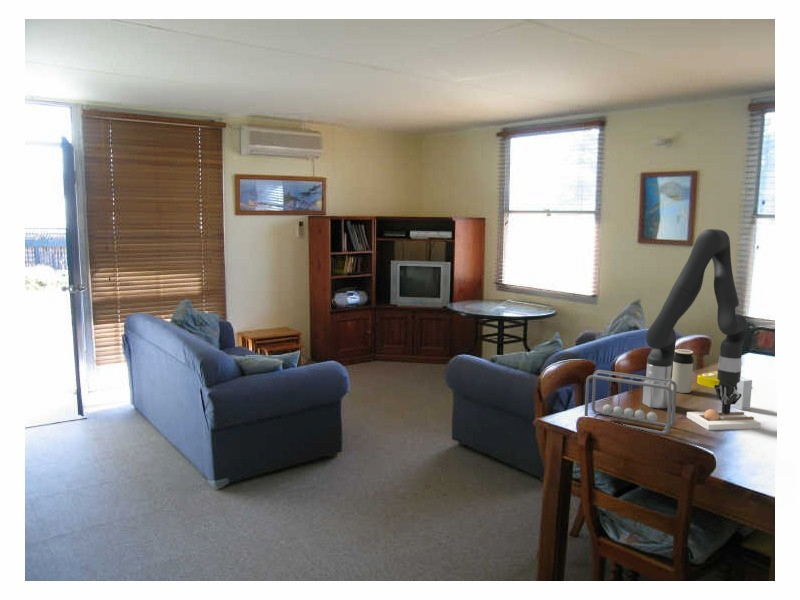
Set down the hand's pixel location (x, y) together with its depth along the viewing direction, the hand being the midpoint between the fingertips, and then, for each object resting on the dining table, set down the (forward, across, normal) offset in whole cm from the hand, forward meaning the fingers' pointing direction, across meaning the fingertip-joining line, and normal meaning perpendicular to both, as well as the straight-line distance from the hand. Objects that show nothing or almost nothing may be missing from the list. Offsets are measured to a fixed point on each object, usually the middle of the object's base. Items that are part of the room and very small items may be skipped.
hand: (725, 413), depth 228 cm
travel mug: (+4, -40, +6) cm, 41 cm away
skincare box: (+4, -16, +17) cm, 24 cm away
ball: (+1, 0, -5) cm, 5 cm away
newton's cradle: (+4, -2, -37) cm, 37 cm away
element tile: (+4, -47, +29) cm, 56 cm away
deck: (+4, 0, -1) cm, 4 cm away
